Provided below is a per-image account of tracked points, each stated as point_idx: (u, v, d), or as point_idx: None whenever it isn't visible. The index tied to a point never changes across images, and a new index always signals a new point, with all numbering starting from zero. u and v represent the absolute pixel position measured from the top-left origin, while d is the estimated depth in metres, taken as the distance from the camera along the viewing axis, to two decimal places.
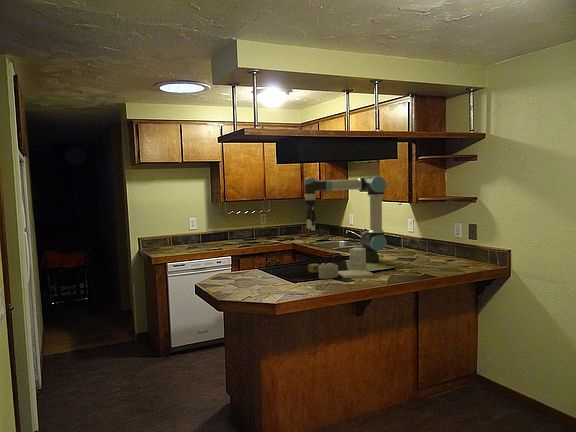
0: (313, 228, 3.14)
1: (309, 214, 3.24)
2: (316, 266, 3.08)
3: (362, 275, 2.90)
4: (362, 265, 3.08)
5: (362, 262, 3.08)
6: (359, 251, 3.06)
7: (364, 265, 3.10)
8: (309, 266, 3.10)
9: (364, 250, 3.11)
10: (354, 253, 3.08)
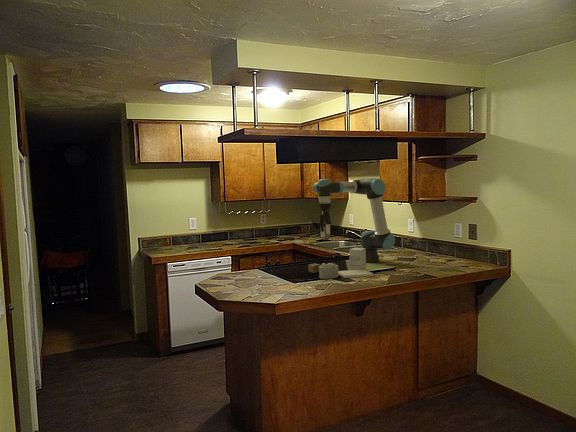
0: (322, 234, 2.87)
1: (327, 219, 2.97)
2: (316, 266, 3.08)
3: (362, 275, 2.90)
4: (362, 265, 3.08)
5: (362, 262, 3.08)
6: (359, 251, 3.06)
7: (364, 265, 3.10)
8: (309, 266, 3.10)
9: (364, 250, 3.11)
10: (354, 253, 3.08)
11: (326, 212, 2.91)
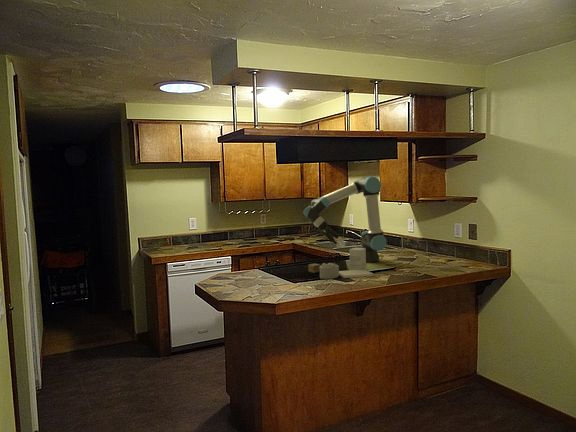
0: (338, 245, 3.08)
1: (333, 234, 3.21)
2: (316, 266, 3.08)
3: (362, 275, 2.90)
4: (362, 265, 3.08)
5: (362, 262, 3.08)
6: (359, 251, 3.06)
7: (364, 265, 3.10)
8: (309, 266, 3.10)
9: (364, 250, 3.11)
10: (354, 253, 3.08)
11: (327, 229, 3.15)
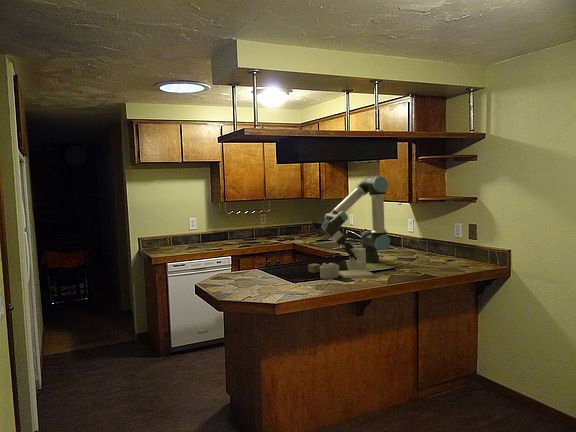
0: (359, 261, 3.06)
1: None
2: (316, 266, 3.08)
3: (362, 275, 2.90)
4: (362, 265, 3.08)
5: (362, 262, 3.08)
6: (359, 251, 3.06)
7: (364, 265, 3.10)
8: (309, 266, 3.10)
9: (364, 250, 3.11)
10: (354, 253, 3.08)
11: (346, 243, 3.12)
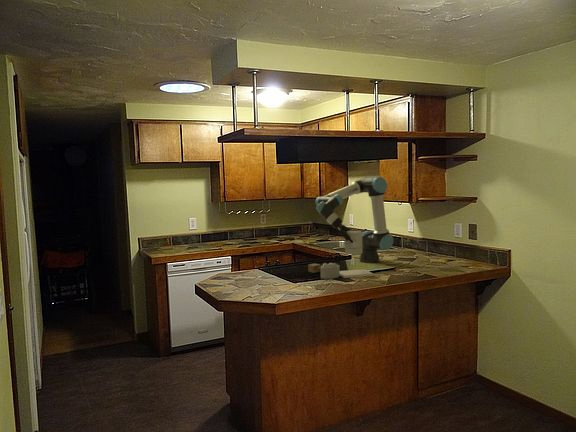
0: (355, 244, 2.92)
1: None
2: (316, 266, 3.08)
3: (362, 275, 2.90)
4: (358, 248, 2.94)
5: (358, 245, 2.94)
6: (355, 233, 2.92)
7: (360, 248, 2.96)
8: (309, 266, 3.10)
9: (360, 233, 2.97)
10: (350, 235, 2.94)
11: (341, 226, 2.98)
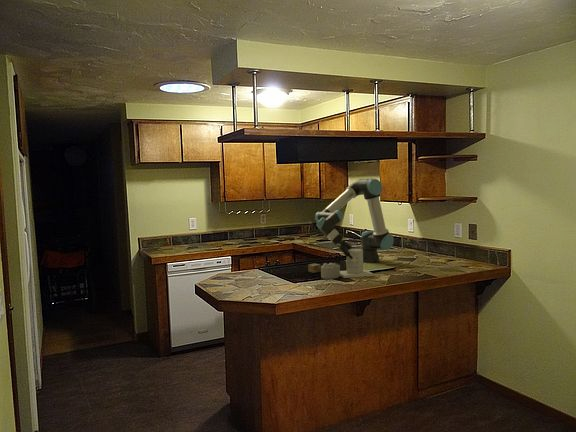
0: (354, 260, 2.89)
1: (348, 247, 3.02)
2: (316, 266, 3.08)
3: (362, 275, 2.90)
4: (360, 267, 2.94)
5: (360, 264, 2.93)
6: (357, 252, 2.91)
7: (361, 266, 2.96)
8: (309, 266, 3.10)
9: (361, 251, 2.96)
10: None
11: (342, 242, 2.97)
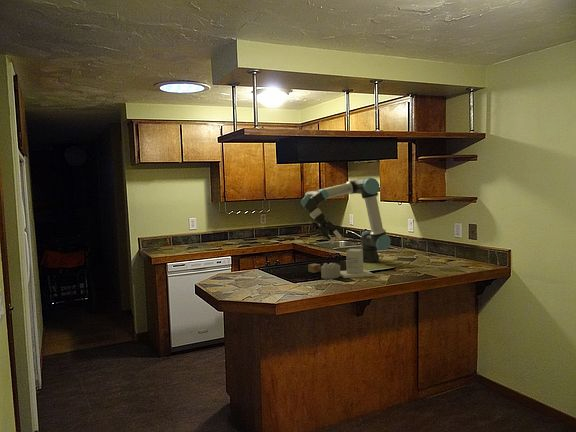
0: (332, 241, 2.97)
1: (330, 227, 3.08)
2: (316, 266, 3.08)
3: (362, 275, 2.90)
4: (360, 267, 2.94)
5: (360, 264, 2.93)
6: (357, 252, 2.91)
7: (361, 266, 2.96)
8: (309, 266, 3.10)
9: (361, 251, 2.96)
10: (351, 254, 2.93)
11: (323, 222, 3.03)
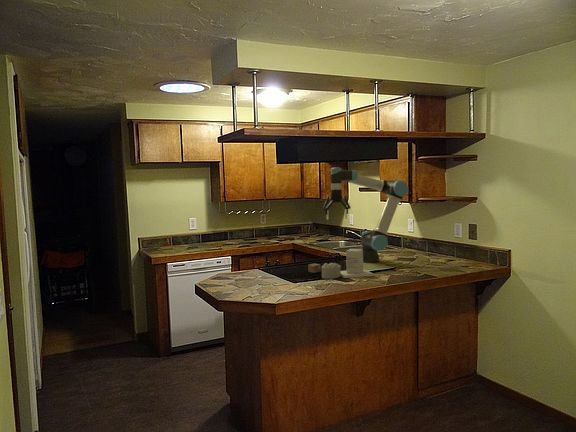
0: (327, 217, 3.21)
1: (342, 204, 3.23)
2: (316, 266, 3.08)
3: (362, 275, 2.90)
4: (360, 267, 2.94)
5: (360, 264, 2.93)
6: (357, 252, 2.91)
7: (361, 266, 2.96)
8: (309, 266, 3.10)
9: (361, 251, 2.96)
10: (351, 254, 2.93)
11: (334, 198, 3.20)
